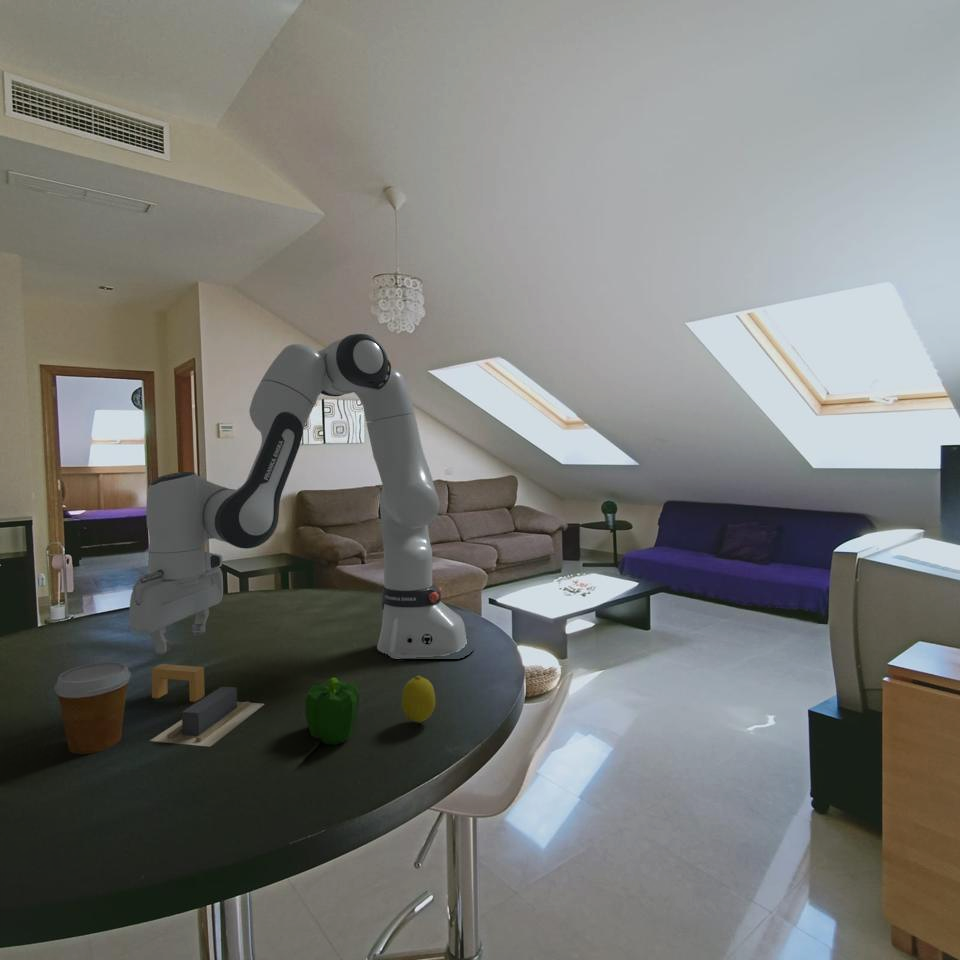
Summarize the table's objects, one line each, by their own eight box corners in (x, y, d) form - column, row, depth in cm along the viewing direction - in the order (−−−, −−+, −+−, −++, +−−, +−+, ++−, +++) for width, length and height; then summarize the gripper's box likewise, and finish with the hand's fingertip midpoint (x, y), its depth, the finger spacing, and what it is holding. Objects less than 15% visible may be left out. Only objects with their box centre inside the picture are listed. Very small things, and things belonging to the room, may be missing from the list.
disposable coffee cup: (40, 760, 85) (38, 678, 84) (103, 731, 93) (101, 657, 93) (86, 773, 81) (84, 688, 81) (147, 741, 90) (145, 665, 90)
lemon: (421, 734, 92) (421, 685, 92) (394, 726, 95) (394, 677, 95) (442, 721, 97) (442, 674, 97) (415, 713, 100) (415, 667, 100)
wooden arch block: (204, 702, 104) (204, 667, 104) (195, 708, 102) (195, 672, 102) (161, 698, 106) (161, 664, 106) (152, 704, 103) (151, 668, 103)
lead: (237, 708, 99) (236, 687, 99) (198, 736, 89) (198, 713, 89) (222, 707, 100) (221, 686, 99) (182, 734, 90) (182, 711, 90)
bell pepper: (310, 726, 95) (310, 665, 95) (362, 724, 96) (361, 664, 95) (298, 752, 87) (298, 686, 87) (354, 750, 88) (354, 684, 87)
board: (264, 710, 101) (264, 700, 101) (210, 754, 86) (209, 742, 86) (212, 706, 103) (212, 696, 103) (150, 748, 88) (149, 736, 88)
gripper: (151, 578, 92) (155, 664, 93) (227, 554, 112) (231, 626, 113) (115, 577, 93) (120, 663, 94) (198, 554, 113) (201, 625, 114)
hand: (181, 642), depth 103 cm, fingers open, 8 cm apart
